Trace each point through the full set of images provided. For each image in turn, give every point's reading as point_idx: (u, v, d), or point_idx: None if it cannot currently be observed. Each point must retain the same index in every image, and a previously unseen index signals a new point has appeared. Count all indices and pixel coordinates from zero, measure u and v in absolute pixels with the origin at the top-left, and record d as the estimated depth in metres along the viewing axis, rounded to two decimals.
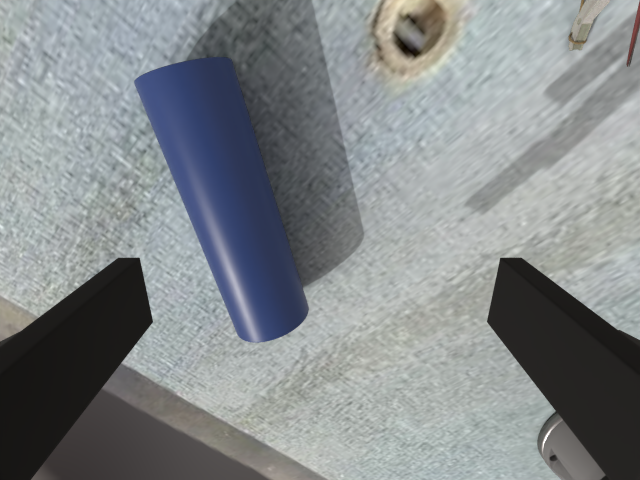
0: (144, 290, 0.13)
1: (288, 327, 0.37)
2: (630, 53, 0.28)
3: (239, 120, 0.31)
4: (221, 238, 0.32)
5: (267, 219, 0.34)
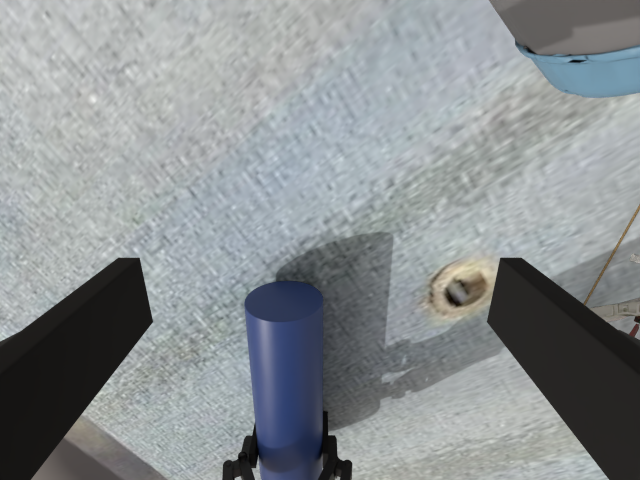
0: (144, 290, 0.13)
1: None
2: None
3: (318, 348, 0.39)
4: (279, 428, 0.40)
5: (316, 414, 0.42)
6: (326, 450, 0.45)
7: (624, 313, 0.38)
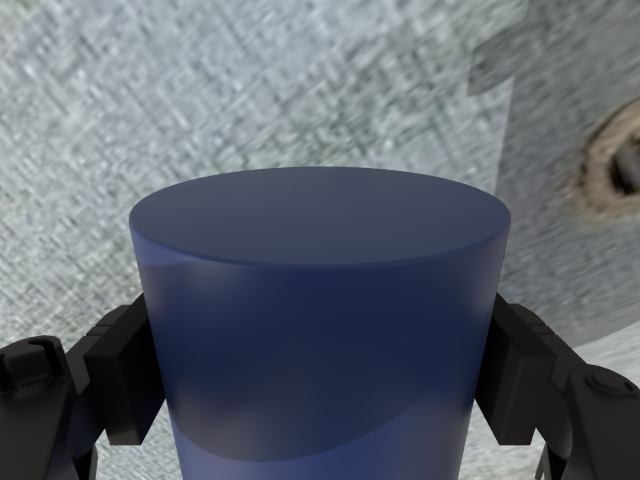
0: None
1: None
2: None
3: (471, 410, 0.09)
4: None
5: None
6: None
7: None
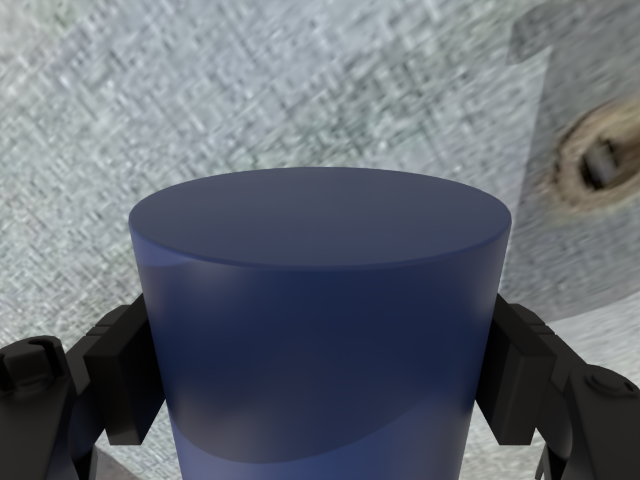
0: None
1: None
2: None
3: (471, 411, 0.09)
4: None
5: None
6: None
7: None
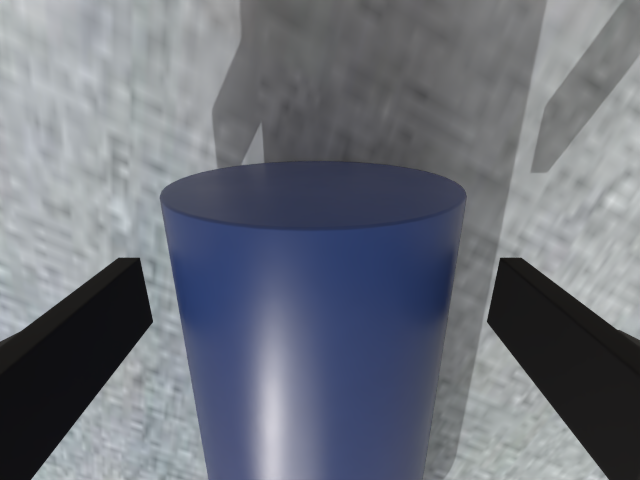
0: (145, 290, 0.13)
1: None
2: None
3: (440, 362, 0.11)
4: None
5: None
6: None
7: None
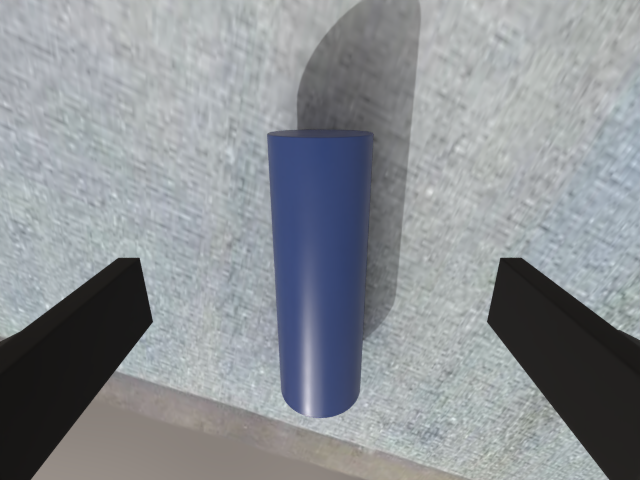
0: (144, 290, 0.13)
1: (344, 407, 0.35)
2: None
3: (367, 200, 0.29)
4: (312, 313, 0.30)
5: (359, 300, 0.32)
6: None
7: None
